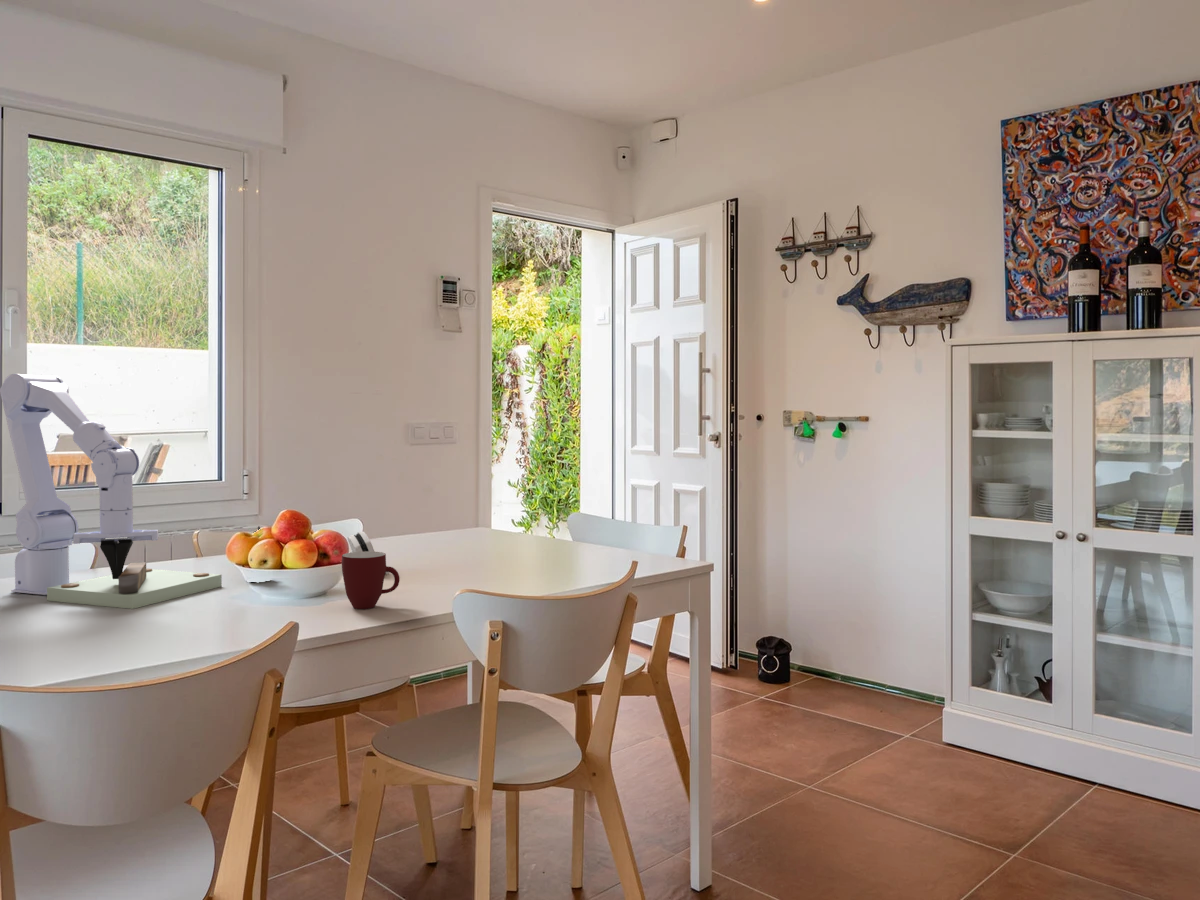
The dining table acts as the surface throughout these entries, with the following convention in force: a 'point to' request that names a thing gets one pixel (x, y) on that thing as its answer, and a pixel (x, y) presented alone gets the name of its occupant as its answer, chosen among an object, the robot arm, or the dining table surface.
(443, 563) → the dining table surface
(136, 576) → the folding leg
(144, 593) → the stool seat
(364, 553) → the mug
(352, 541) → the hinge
